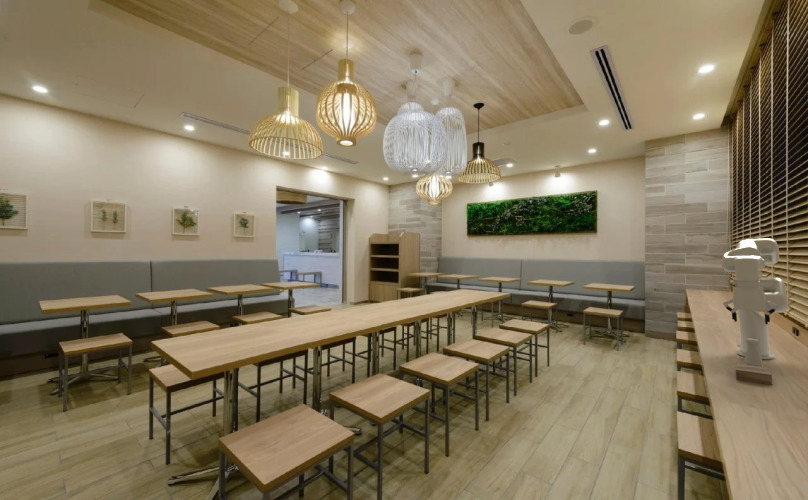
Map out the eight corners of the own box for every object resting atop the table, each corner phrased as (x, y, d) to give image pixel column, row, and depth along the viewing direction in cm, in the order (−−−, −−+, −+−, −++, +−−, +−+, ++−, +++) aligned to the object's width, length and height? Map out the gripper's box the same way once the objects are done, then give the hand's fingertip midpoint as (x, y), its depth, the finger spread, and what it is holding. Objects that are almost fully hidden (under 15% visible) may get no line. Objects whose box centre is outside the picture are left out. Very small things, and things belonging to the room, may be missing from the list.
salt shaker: (767, 370, 145) (765, 340, 146) (751, 370, 147) (749, 340, 147) (756, 365, 151) (754, 337, 151) (741, 365, 152) (739, 337, 153)
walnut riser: (736, 372, 145) (735, 363, 145) (770, 377, 138) (769, 367, 138) (736, 379, 138) (735, 369, 138) (772, 385, 131) (771, 374, 131)
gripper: (720, 284, 153) (723, 321, 153) (776, 285, 141) (780, 326, 140) (722, 283, 158) (724, 319, 158) (776, 284, 146) (779, 323, 145)
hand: (750, 322), depth 149 cm, fingers open, 9 cm apart
